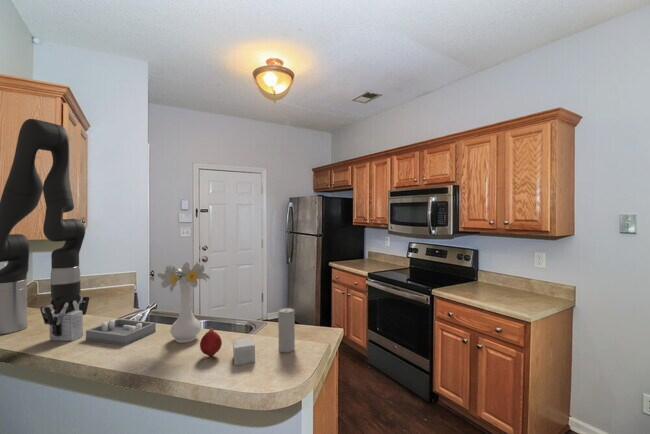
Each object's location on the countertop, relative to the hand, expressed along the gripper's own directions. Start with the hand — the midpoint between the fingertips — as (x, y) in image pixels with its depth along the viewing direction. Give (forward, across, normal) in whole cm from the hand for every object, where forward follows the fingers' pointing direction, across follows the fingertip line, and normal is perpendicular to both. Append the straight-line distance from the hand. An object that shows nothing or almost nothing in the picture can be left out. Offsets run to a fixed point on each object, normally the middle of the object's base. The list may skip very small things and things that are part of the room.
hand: (66, 332), depth 105 cm
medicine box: (+2, 0, 0) cm, 2 cm away
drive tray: (+2, -7, +15) cm, 17 cm away
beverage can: (+2, -12, +72) cm, 73 cm away
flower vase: (+2, -10, +37) cm, 38 cm away
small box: (+2, -3, +63) cm, 63 cm away
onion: (+2, -2, +53) cm, 53 cm away
